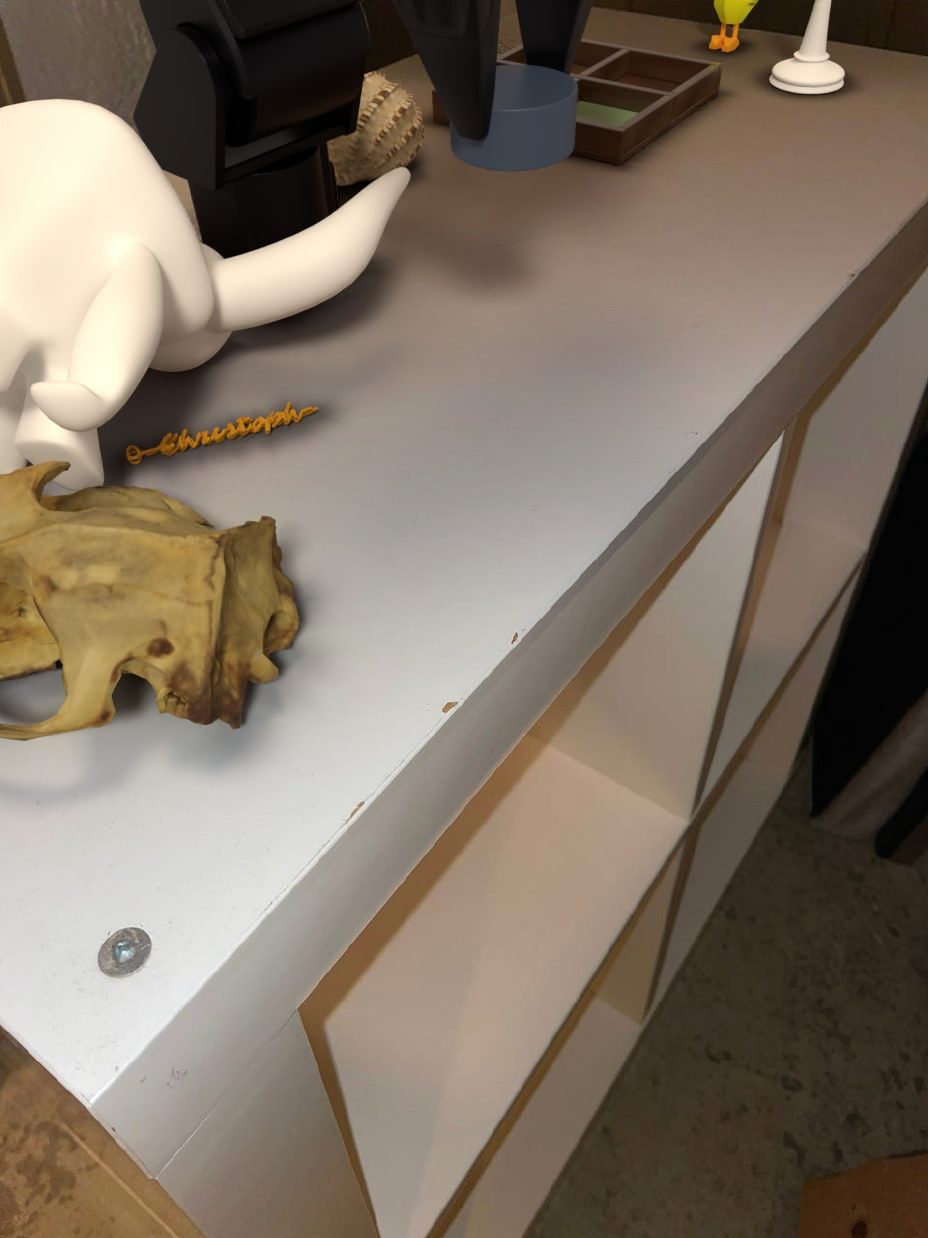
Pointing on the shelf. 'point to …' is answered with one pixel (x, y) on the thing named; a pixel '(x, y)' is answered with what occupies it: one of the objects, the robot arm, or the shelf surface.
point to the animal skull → (135, 600)
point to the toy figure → (730, 21)
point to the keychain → (218, 437)
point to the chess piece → (810, 60)
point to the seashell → (378, 133)
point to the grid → (625, 95)
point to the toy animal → (129, 278)
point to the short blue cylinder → (524, 121)
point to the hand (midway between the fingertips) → (511, 115)
